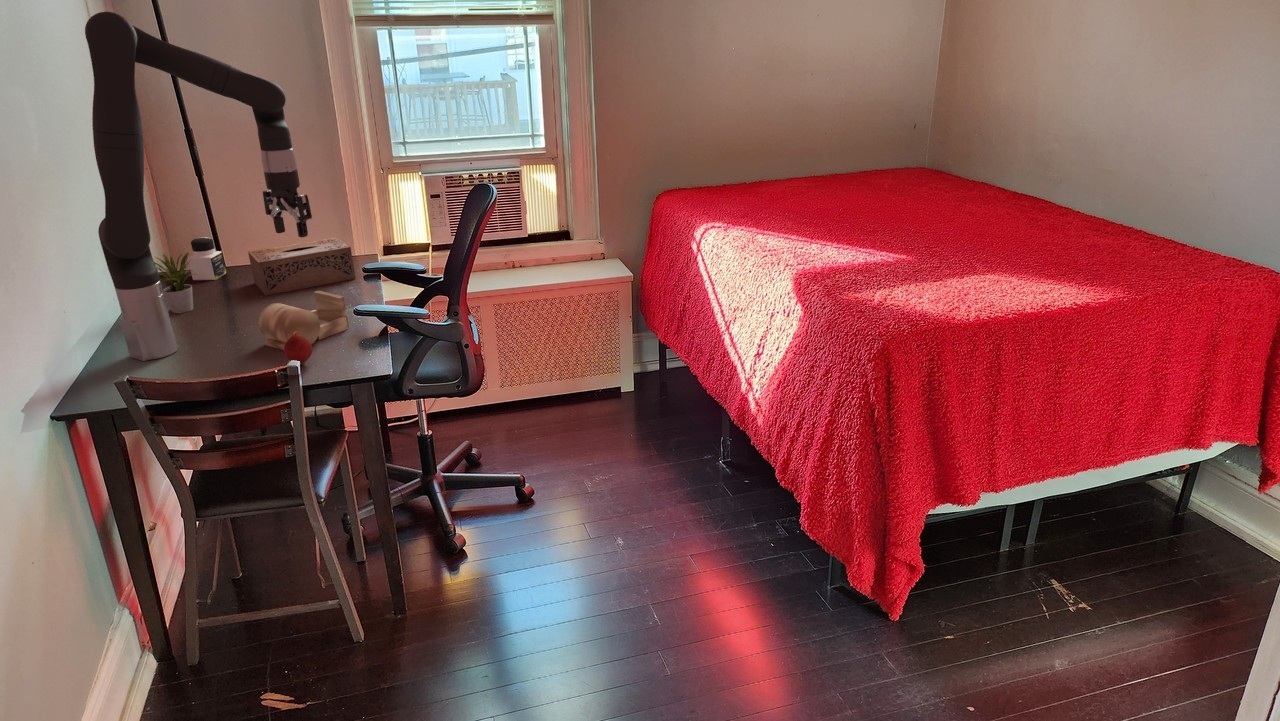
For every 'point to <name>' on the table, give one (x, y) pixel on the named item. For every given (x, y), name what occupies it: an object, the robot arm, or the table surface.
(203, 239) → the medicine bottle
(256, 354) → the table surface
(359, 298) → the table surface
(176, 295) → the house plant
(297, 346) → the onion
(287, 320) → the roller
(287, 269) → the tissue box cover
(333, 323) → the pit walls
